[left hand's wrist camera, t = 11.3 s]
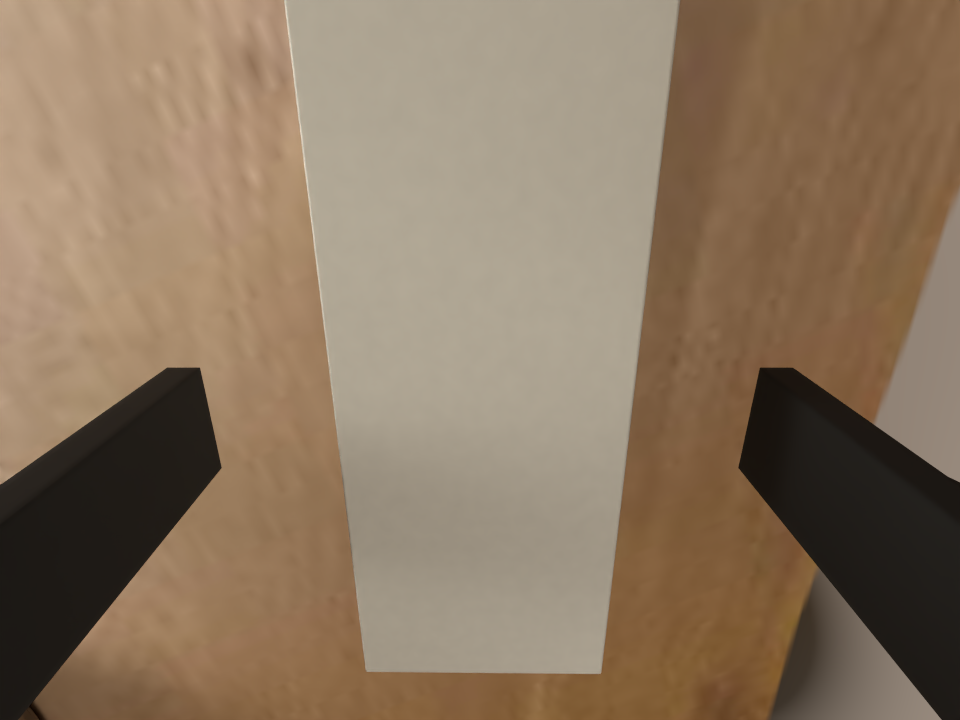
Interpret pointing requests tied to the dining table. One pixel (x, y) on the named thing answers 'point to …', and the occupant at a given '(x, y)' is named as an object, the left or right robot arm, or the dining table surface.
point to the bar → (482, 307)
